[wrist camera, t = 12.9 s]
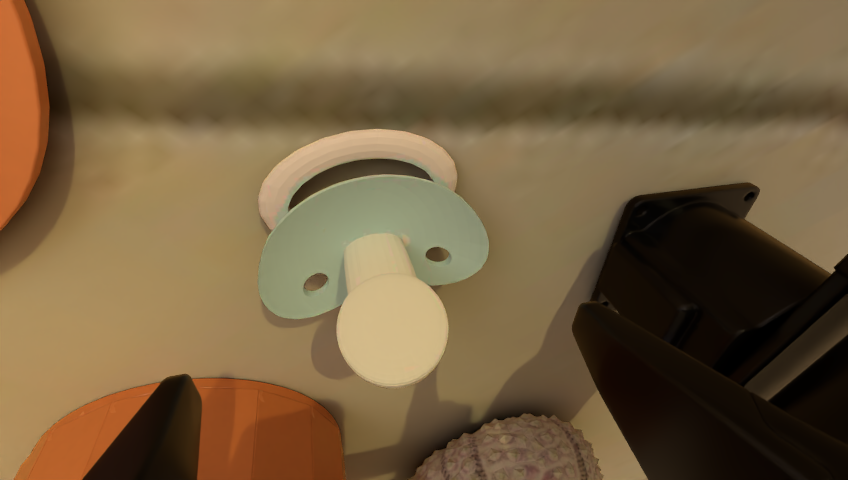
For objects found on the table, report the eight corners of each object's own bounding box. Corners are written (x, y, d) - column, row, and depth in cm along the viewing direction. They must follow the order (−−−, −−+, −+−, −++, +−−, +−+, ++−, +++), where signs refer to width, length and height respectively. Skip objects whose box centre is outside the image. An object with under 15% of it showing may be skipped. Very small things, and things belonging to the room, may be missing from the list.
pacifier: (223, 144, 12) (282, 294, 15) (167, 281, 7) (274, 457, 10) (463, 104, 13) (467, 252, 16) (565, 197, 8) (539, 382, 11)
